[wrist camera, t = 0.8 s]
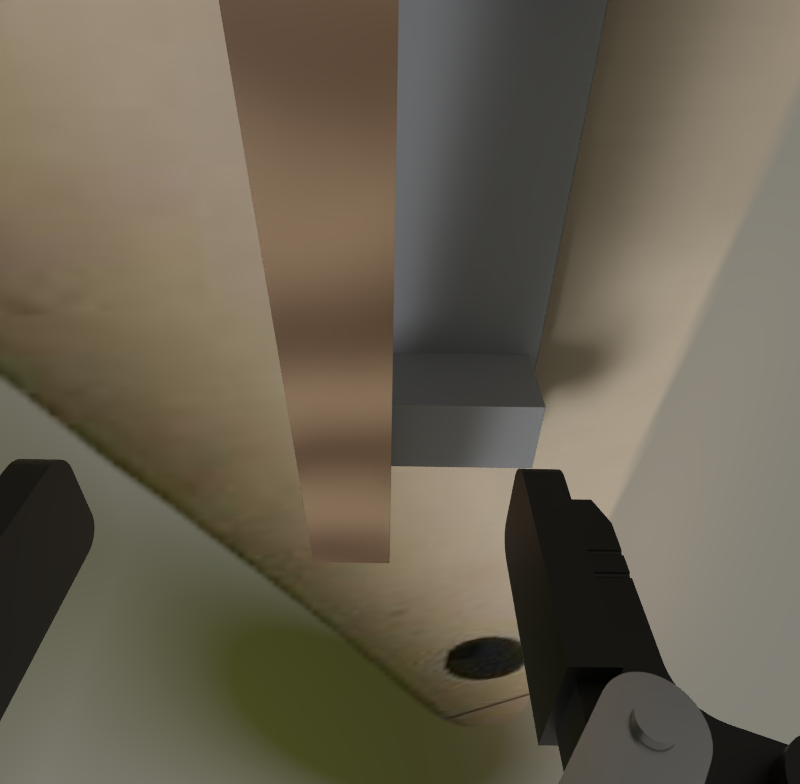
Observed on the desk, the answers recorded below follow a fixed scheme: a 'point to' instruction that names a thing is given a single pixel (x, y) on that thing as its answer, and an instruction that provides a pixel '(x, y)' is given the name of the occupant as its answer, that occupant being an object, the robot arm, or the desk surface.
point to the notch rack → (481, 217)
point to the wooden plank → (327, 243)
